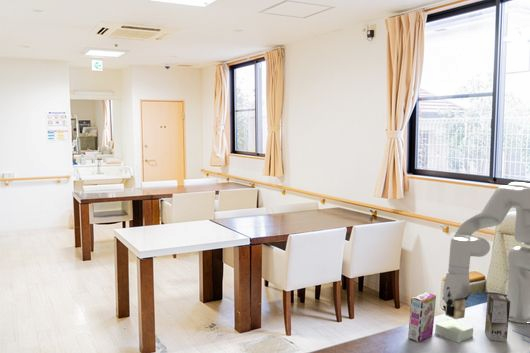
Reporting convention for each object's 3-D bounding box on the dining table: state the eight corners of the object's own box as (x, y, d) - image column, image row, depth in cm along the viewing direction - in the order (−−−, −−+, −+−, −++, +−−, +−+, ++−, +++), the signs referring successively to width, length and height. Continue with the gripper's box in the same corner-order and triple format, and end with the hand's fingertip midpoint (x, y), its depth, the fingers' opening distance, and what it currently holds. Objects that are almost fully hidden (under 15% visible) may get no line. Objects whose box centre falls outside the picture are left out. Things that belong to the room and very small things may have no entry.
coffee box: (507, 342, 191) (511, 301, 189) (489, 340, 192) (493, 299, 191) (501, 333, 200) (504, 294, 198) (484, 331, 201) (487, 292, 200)
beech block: (453, 313, 199) (455, 296, 198) (464, 317, 195) (465, 300, 194) (445, 314, 197) (446, 297, 196) (455, 319, 192) (457, 301, 192)
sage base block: (450, 328, 203) (451, 319, 203) (472, 337, 195) (473, 327, 195) (435, 333, 198) (435, 324, 197) (457, 343, 190) (458, 332, 189)
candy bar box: (419, 343, 187) (422, 301, 186) (407, 338, 191) (410, 297, 189) (433, 335, 195) (436, 294, 194) (421, 331, 199) (424, 291, 197)
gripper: (465, 264, 201) (461, 308, 203) (435, 268, 193) (432, 314, 195) (481, 269, 195) (477, 314, 197) (451, 274, 186) (447, 321, 188)
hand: (455, 313), depth 196 cm, fingers closed on beech block, 5 cm apart
